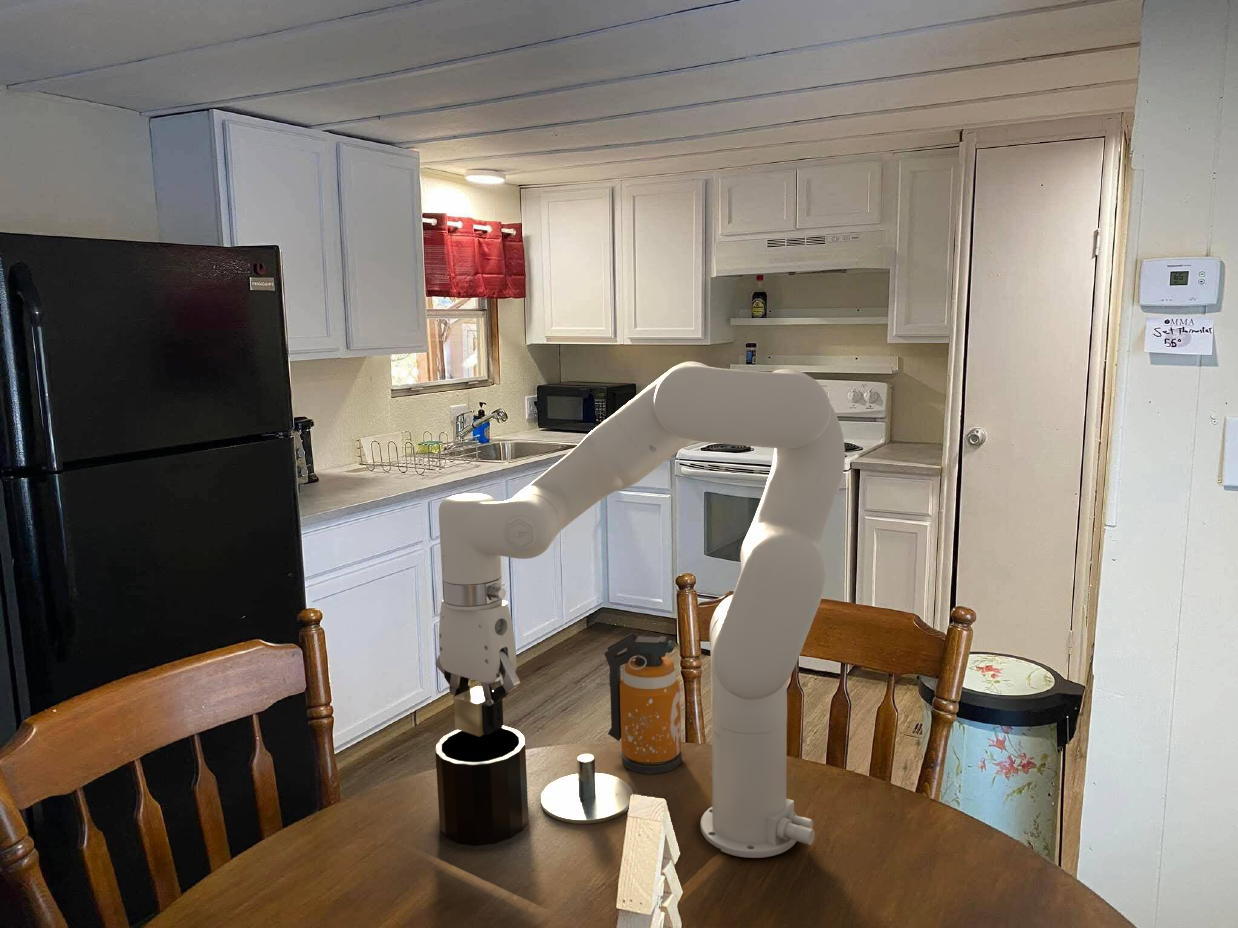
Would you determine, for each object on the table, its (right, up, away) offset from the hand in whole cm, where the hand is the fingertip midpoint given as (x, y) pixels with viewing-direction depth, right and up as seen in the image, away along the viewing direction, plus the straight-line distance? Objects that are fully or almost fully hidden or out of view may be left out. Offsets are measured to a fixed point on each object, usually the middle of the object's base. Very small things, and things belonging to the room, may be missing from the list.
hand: (479, 724), depth 119 cm
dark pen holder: (0, -14, +2) cm, 14 cm away
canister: (+22, -11, +18) cm, 31 cm away
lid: (+14, -12, +7) cm, 20 cm away
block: (0, 0, 0) cm, 0 cm away
